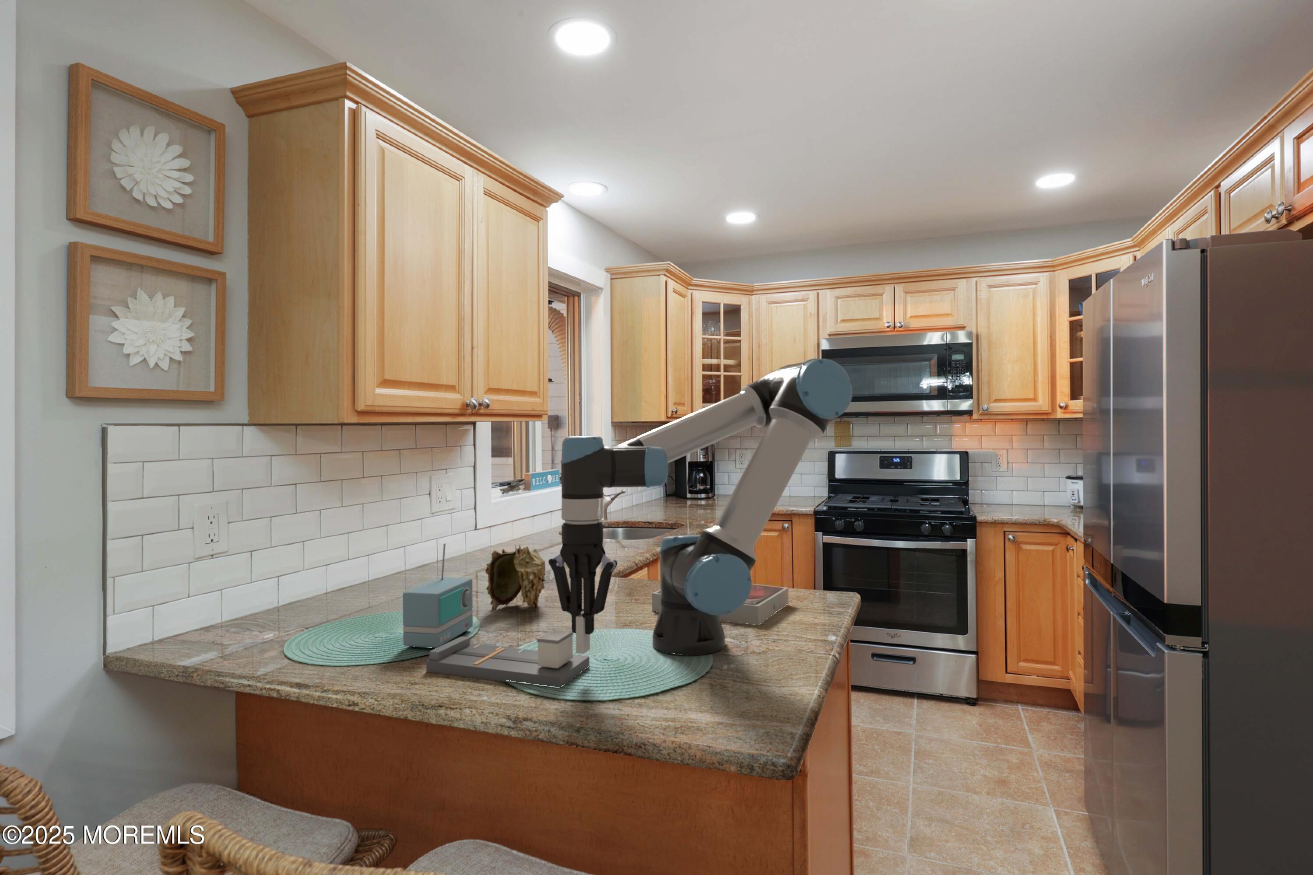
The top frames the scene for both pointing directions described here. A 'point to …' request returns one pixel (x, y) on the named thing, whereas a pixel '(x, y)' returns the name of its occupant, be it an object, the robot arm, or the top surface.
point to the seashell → (515, 576)
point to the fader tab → (555, 648)
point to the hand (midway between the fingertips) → (583, 650)
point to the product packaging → (748, 604)
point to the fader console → (500, 663)
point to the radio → (437, 611)
